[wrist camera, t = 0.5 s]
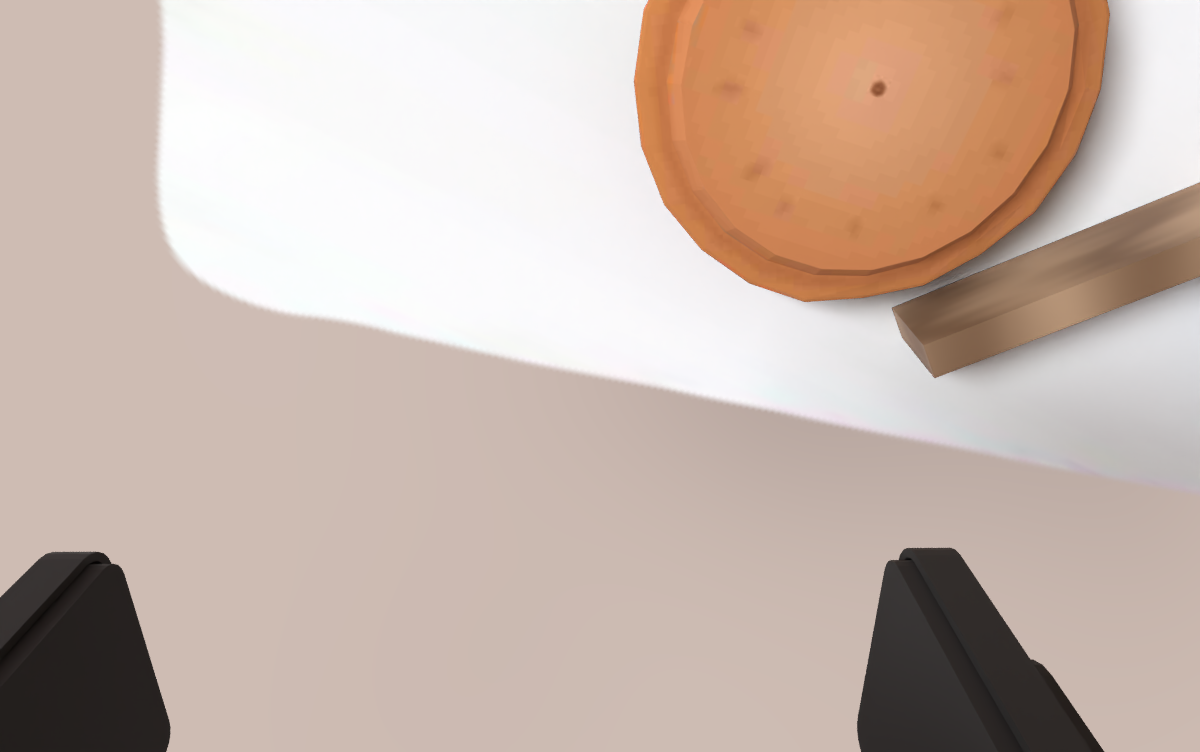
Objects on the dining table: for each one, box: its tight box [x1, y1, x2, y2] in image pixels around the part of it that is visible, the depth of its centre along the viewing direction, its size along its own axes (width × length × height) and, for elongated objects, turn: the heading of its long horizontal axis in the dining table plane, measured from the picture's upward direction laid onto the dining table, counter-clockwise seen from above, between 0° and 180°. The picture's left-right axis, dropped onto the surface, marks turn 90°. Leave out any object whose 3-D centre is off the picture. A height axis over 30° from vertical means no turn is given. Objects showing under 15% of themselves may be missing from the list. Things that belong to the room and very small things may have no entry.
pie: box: [634, 0, 1110, 302], centre depth 28 cm, size 15×16×5 cm
